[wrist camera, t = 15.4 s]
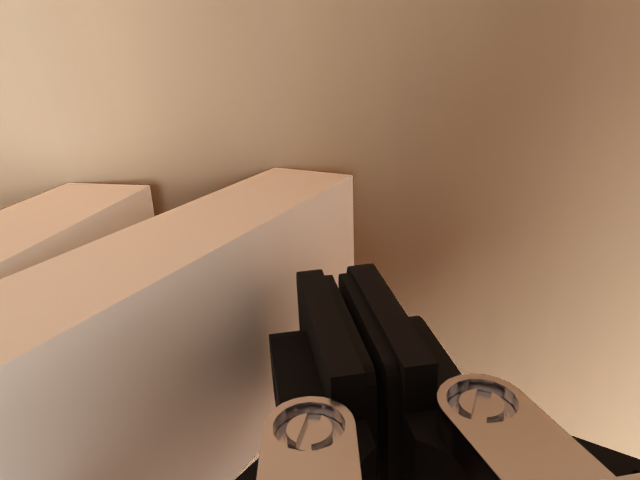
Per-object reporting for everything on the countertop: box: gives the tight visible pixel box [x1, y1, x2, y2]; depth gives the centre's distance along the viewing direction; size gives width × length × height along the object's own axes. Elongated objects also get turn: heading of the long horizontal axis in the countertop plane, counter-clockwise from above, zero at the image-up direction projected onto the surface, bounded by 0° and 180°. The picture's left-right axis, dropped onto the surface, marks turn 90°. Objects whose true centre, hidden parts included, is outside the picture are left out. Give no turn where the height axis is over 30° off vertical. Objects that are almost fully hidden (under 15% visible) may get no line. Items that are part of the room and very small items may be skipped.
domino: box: [0, 167, 354, 480], centre depth 12 cm, size 2×5×10 cm
